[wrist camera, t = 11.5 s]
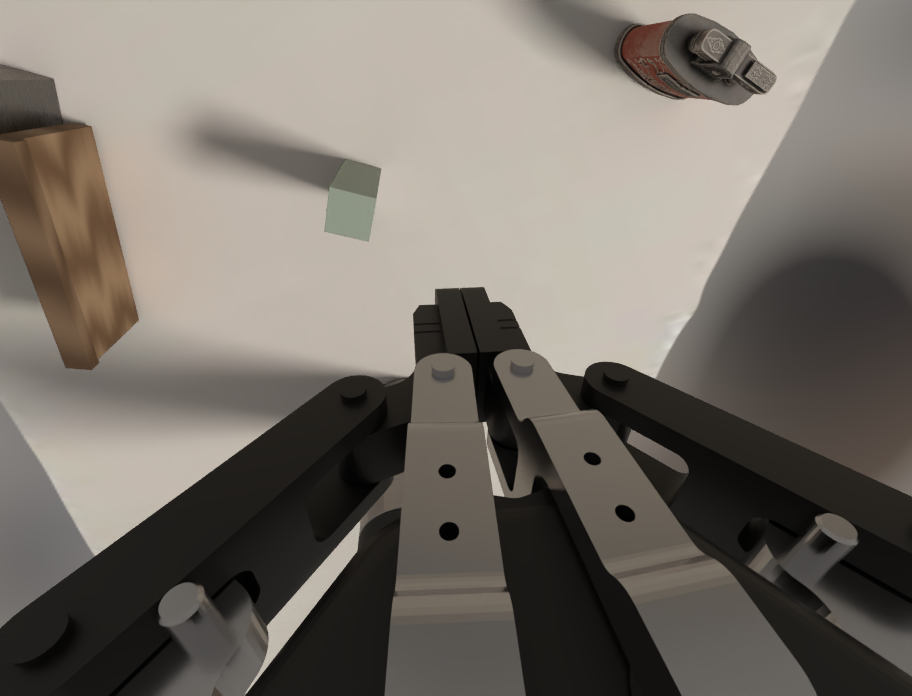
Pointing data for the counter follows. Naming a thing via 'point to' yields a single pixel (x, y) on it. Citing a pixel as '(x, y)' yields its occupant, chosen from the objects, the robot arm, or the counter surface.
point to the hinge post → (27, 101)
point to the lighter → (692, 60)
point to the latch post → (352, 200)
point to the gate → (68, 237)
